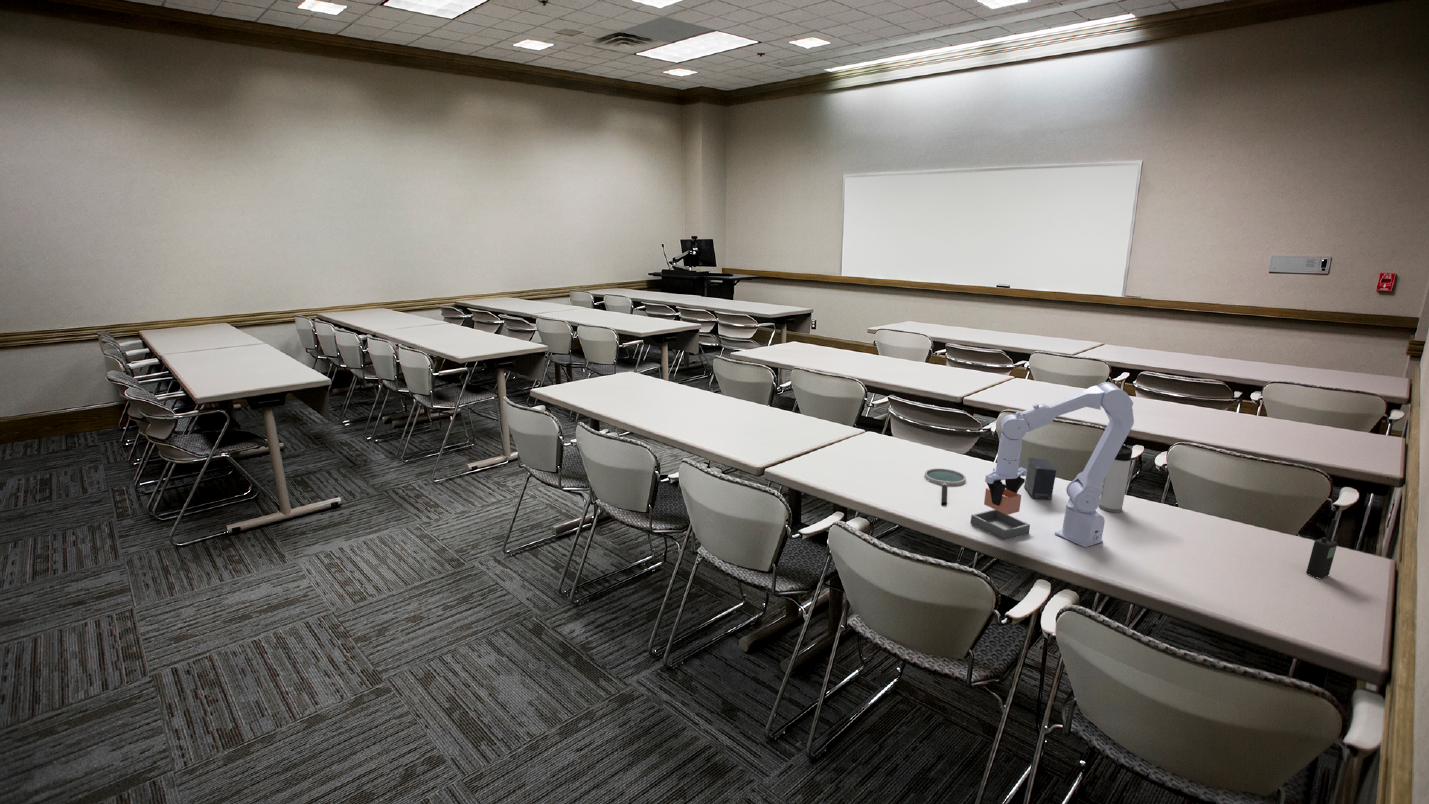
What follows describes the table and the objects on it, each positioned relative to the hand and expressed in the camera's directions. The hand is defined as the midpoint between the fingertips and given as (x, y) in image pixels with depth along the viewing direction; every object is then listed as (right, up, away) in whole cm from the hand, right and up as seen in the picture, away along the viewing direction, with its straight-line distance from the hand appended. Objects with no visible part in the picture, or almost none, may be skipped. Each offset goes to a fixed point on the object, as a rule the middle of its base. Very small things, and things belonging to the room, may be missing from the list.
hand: (1002, 502), depth 191 cm
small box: (+23, -1, +28) cm, 36 cm away
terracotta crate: (0, -2, +1) cm, 2 cm away
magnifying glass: (-6, -1, +32) cm, 32 cm away
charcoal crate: (0, -8, +2) cm, 8 cm away
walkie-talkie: (+70, -15, -22) cm, 75 cm away
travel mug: (+41, -4, +17) cm, 44 cm away
